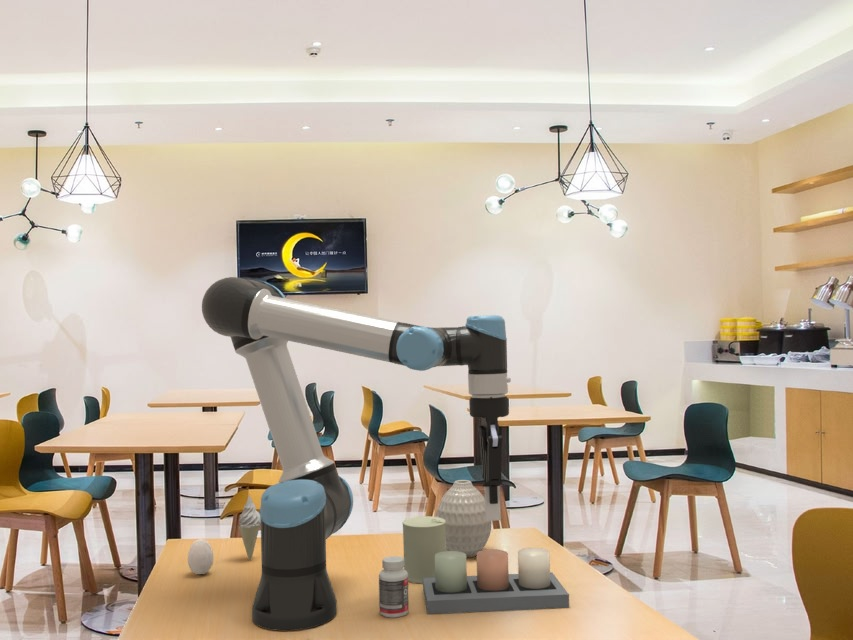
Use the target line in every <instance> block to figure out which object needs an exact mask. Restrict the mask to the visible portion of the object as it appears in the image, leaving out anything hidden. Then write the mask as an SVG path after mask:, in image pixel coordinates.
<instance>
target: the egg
mask: <svg viewBox="0 0 853 640" xmlns="http://www.w3.org/2000/svg"><path fill="white" fill-rule="evenodd" d="M213 550H214V549H213V548H212V546H211V544H210V543H209V541H208V540H207V539H205V538H198V539H196V540H195V541H193V543H192V544H191V546H190V548H189V549H188V553H187V565H188V568H189V569H190V571H191V572H192V573H194V575H197V574H203V575H205V574H206V573H208V572H209V571H210V569H211V568H212V566H213V564H214V551H213Z"/></svg>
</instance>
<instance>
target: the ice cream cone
mask: <svg viewBox="0 0 853 640" xmlns="http://www.w3.org/2000/svg"><path fill="white" fill-rule="evenodd" d="M243 508H244V509H243V510H242V513H240V515H239V520H238V523H239V524H238V527H237V528H238V529H239V532H240V535H241V537H242V541H243V546H244V548H245V552H246V555H247V559H248V561H249V560H251V561H252V558H253V554H254V551H255V546H256V543H257V539H258V536H259V535H258V534H259V532H260V531H259V530H260V528H261V521H260V511H257V509H256V505H255V503H254V501H253V499H252V496H251V494H248V497H247V501H246V503H245V504H244V505H243Z"/></svg>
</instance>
